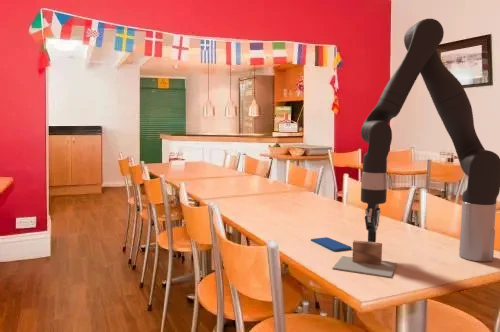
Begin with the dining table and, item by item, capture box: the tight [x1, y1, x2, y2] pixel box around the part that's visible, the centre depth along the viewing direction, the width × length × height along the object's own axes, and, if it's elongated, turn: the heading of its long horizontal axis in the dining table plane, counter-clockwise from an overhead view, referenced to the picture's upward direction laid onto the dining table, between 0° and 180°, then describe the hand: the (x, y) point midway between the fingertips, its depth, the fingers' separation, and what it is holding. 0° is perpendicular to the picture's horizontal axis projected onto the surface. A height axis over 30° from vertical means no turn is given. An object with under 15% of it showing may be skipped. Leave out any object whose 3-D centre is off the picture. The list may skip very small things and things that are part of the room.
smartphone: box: [310, 237, 353, 252], centre depth 151 cm, size 7×1×15 cm
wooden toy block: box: [352, 239, 383, 265], centre depth 131 cm, size 8×2×6 cm, turn 65°
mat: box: [332, 255, 398, 278], centre depth 129 cm, size 16×12×1 cm
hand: (371, 242), depth 138 cm, fingers closed
